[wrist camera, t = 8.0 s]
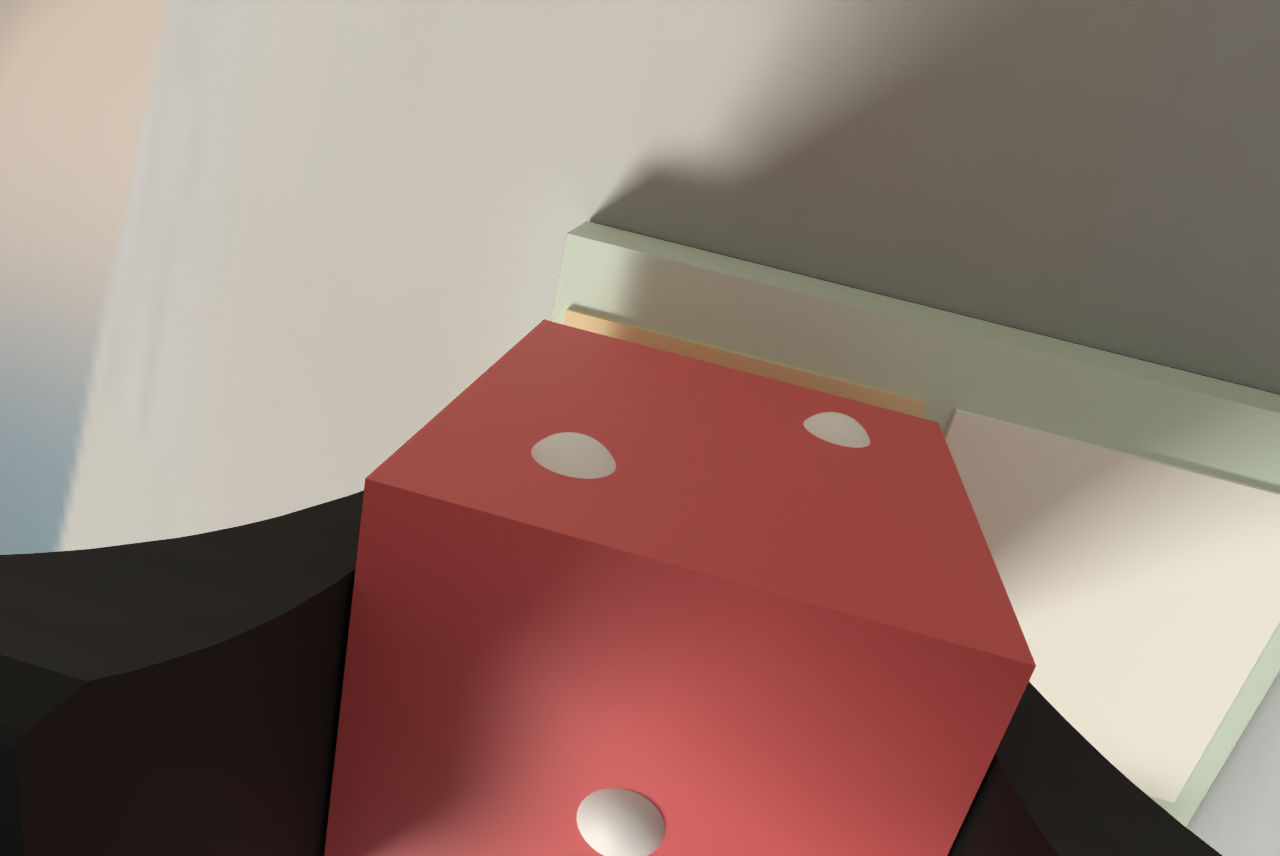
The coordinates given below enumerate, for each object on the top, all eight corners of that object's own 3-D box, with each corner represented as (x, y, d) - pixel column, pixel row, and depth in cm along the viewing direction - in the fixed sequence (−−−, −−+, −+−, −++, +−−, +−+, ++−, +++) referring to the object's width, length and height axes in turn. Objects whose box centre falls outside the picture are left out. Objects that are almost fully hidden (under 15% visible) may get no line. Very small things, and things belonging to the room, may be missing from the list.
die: (815, 751, 13) (822, 1144, 8) (483, 654, 13) (302, 973, 8) (943, 408, 11) (1055, 660, 6) (547, 304, 11) (355, 465, 6)
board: (965, 1112, 18) (976, 1185, 17) (447, 947, 19) (423, 1004, 18) (1358, 414, 12) (1418, 449, 11) (587, 221, 13) (565, 235, 12)
